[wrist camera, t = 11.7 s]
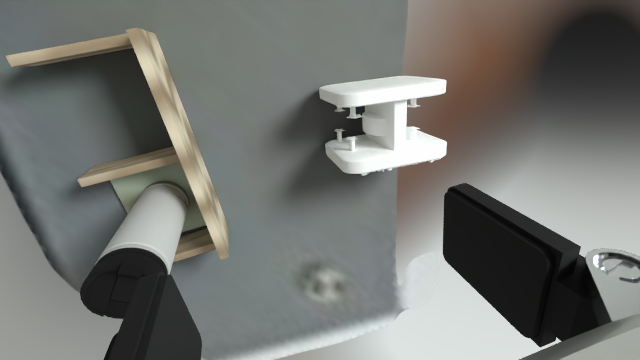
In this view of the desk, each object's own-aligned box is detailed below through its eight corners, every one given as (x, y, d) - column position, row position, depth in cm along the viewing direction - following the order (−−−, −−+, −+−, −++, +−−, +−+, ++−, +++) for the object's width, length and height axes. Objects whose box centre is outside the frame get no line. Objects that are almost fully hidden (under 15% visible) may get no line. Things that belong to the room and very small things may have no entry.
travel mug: (196, 186, 44) (172, 274, 26) (181, 224, 45) (149, 334, 27) (149, 171, 41) (87, 258, 23) (135, 213, 43) (66, 324, 25)
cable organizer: (408, 73, 47) (459, 77, 36) (407, 139, 51) (452, 160, 40) (314, 85, 43) (341, 93, 33) (321, 155, 48) (346, 181, 37)
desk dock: (35, 56, 34) (-18, 55, 27) (155, 33, 36) (136, 27, 29) (142, 253, 45) (125, 290, 38) (228, 227, 48) (228, 257, 41)
